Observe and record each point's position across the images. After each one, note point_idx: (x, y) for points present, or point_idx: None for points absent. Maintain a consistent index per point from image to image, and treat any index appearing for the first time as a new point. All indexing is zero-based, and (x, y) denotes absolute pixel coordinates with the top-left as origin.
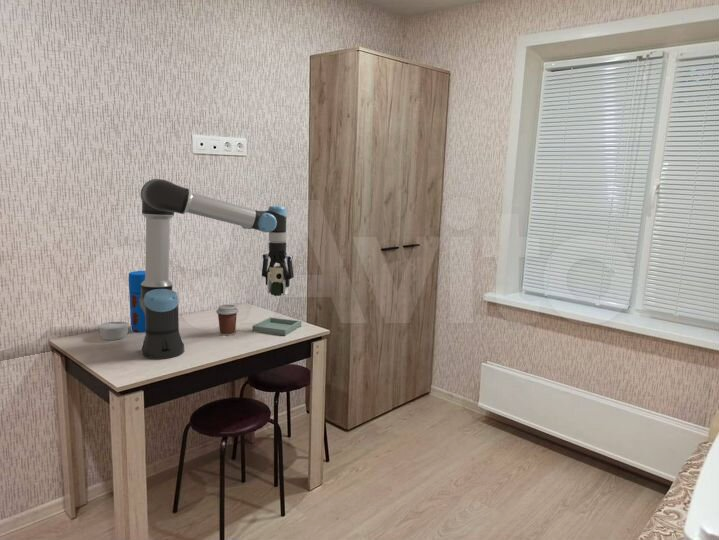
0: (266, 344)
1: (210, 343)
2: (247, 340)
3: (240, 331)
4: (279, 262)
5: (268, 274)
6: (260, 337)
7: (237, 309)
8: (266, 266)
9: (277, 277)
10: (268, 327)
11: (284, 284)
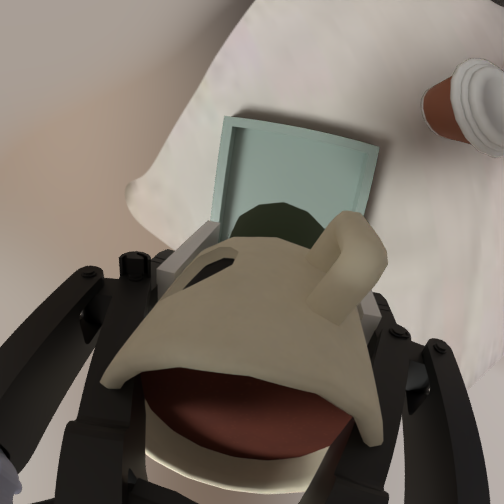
0: (262, 13)
1: (438, 11)
2: (346, 38)
3: (414, 140)
4: (103, 480)
5: (362, 227)
6: (315, 76)
7: (462, 119)
8: (422, 455)
9: (225, 264)
10: (305, 133)
11: (181, 251)
